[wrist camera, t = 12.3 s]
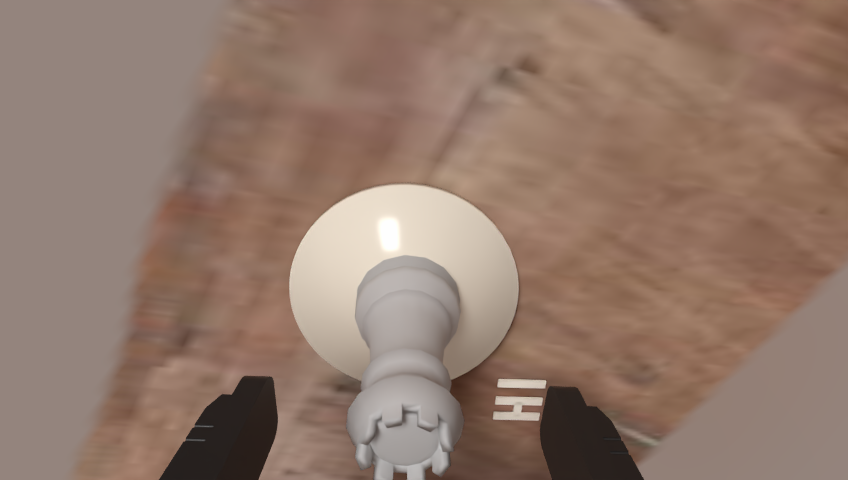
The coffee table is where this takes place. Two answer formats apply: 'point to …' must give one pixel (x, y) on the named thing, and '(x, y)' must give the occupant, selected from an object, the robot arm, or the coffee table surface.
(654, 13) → the coffee table surface
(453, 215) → the cream round disc
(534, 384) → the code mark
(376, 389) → the rook chess piece
